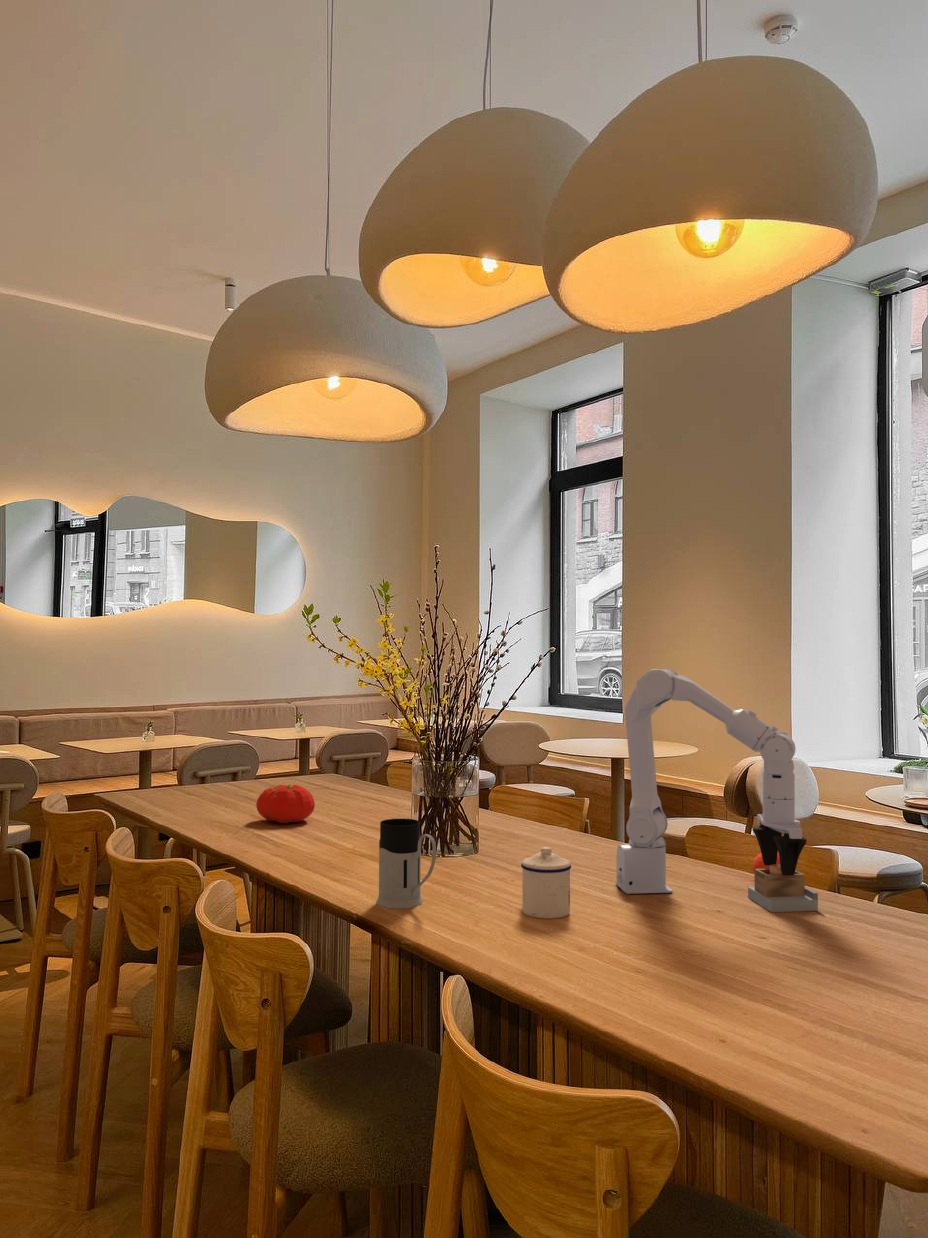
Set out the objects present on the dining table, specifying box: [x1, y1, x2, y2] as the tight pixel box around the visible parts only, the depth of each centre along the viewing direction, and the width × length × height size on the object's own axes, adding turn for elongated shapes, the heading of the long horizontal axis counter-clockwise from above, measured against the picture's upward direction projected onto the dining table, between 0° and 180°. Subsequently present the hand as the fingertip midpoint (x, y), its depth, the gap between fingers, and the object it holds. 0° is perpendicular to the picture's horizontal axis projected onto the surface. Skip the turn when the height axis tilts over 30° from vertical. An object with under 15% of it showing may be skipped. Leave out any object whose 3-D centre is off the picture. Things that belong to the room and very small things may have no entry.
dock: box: [747, 886, 819, 913], centre depth 172 cm, size 9×10×3 cm
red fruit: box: [752, 852, 780, 873], centre depth 185 cm, size 8×7×7 cm
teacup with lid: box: [521, 846, 572, 920], centre depth 167 cm, size 12×9×12 cm
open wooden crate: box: [753, 869, 806, 897], centre depth 172 cm, size 8×5×4 cm, turn 96°
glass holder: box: [375, 818, 437, 909], centre depth 171 cm, size 9×14×15 cm, turn 44°
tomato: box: [255, 784, 316, 824], centre depth 254 cm, size 14×16×10 cm
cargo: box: [770, 864, 782, 874], centre depth 172 cm, size 3×3×2 cm
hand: (778, 869), depth 172 cm, fingers open, 7 cm apart
